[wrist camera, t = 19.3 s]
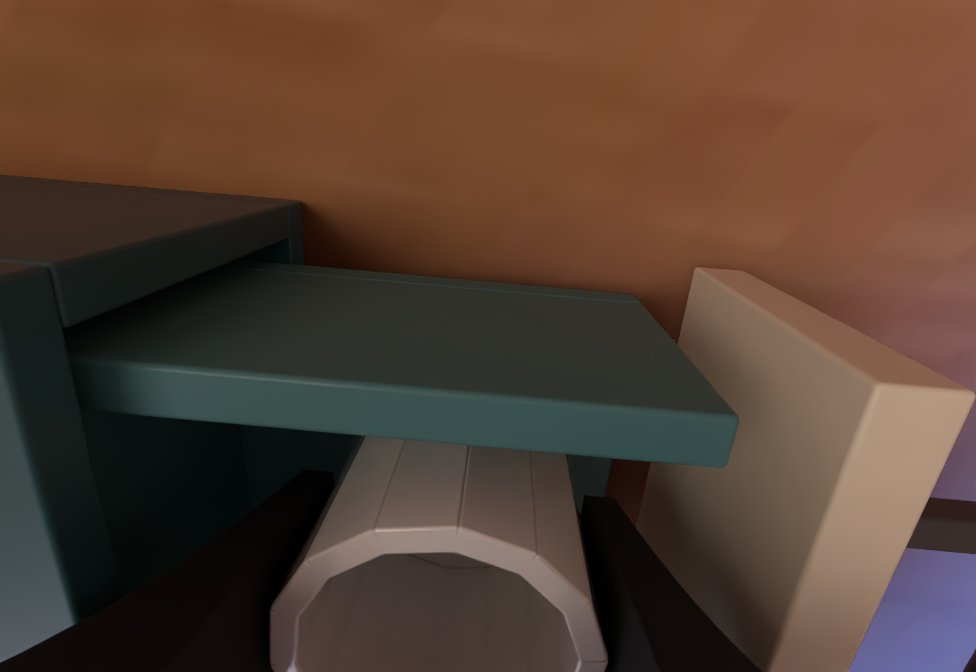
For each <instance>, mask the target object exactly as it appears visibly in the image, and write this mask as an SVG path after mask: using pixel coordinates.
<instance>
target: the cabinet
mask: <svg viewBox="0 0 976 672" xmlns="http://www.w3.org/2000/svg"><path fill="white" fill-rule="evenodd" d="M236 259H237V260H248V261H260V262H271V263H283V264H294V265H304V249H303V228H302V208H301V202H300V201H295V200H284V199H272V198H261V197H249V196H237V195H226V194H214V193H203V192H191V191H179V190H168V189H156V188H145V187H133V186H121V185H110V184H98V183H87V182H75V181H63V180H52V179H40V178H29V177H17V176H5V175H0V662H3V661H5V660H7V659H9V658H11V657H13V656H15V655H17V654H19V653H21V652H23V651H25V650H27V649H29V648H31V647H33V646H35V645H37V644H39V643H40V642H42V641H44V640H46V639H48V638H50V637H52V636H54V635H56V634H58V633H60V632H61V631H63V630H65V629H67V628H69V627H71V626H73V625H75V624H77V623H79V622H80V621H82V620H84V619H86V618H88V617H90V616H92V615H94V614H96V613H97V612H99V611H101V610H103V609H104V608H106V607H108V606H110V605H111V604H113V603H115V602H117V601H118V600H120V599H122V598H123V597H124V596H123V592H122V587H121V583H120V578H119V574H118V570H117V565H116V561H115V557H114V552H113V548H112V544H111V539H110V535H109V531H108V526H107V522H106V518H105V513H104V509H103V504H102V500H101V496H100V491H99V487H98V483H97V478H96V474H95V470H94V465H93V461H92V457H91V452H90V448H89V444H88V439H87V435H86V430H85V426H84V422H83V417H82V413H81V409H80V404H79V400H78V396H77V391H76V387H75V383H74V378H73V374H72V370H71V365H70V361H69V356H68V352H67V348H66V343H65V339H64V335H63V330H62V328H68V327H70V326H73V325H75V324H78V323H80V322H83V321H85V320H88V319H90V318H93V317H95V316H98V315H100V314H103V313H105V312H107V311H110V310H112V309H115V308H117V307H120V306H122V305H125V304H127V303H130V302H132V301H135V300H137V299H140V298H142V297H144V296H147V295H149V294H152V293H154V292H157V291H159V290H162V289H164V288H167V287H169V286H172V285H174V284H177V283H179V282H181V281H184V280H186V279H189V278H191V277H194V276H196V275H199V274H201V273H204V272H206V271H209V270H211V269H214V268H216V267H219V266H221V265H223V264H226V263H228V262H231V261H233V260H236Z"/></svg>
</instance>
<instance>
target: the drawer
mask: <svg viewBox="0 0 976 672" xmlns="http://www.w3.org/2000/svg"><path fill="white" fill-rule="evenodd" d="M62 330H63V335H64V339H65V343H66V348H67V352H68V356H69V361H70V365H71V370H72V374H73V378H74V383H75V387H76V391H77V396H78V400H79V404H80V409H81V413H82V417H83V422H84V426H85V430H86V435H87V439H88V444H89V448H90V452H91V457H92V461H93V465H94V470H95V474H96V478H97V483H98V487H99V491H100V496H101V500H102V504H103V509H104V513H105V518H106V522H107V526H108V531H109V535H110V539H111V544H112V548H113V552H114V557H115V561H116V565H117V570H118V574H119V578H120V583H121V587H122V592H123V596H124V597H125V596H127V595H128V594H130V593H132V592H133V591H135V590H137V589H138V588H140V587H142V586H144V585H145V584H147V583H148V582H150V581H152V580H153V579H155V578H156V577H158V576H160V575H161V574H163V573H164V572H166V571H167V570H169V569H170V568H172V567H173V566H175V565H176V564H178V563H179V562H181V561H182V560H184V559H185V558H186V557H188V556H189V555H191V554H192V553H194V552H195V551H197V550H198V549H199V548H201V547H202V546H204V545H205V544H207V543H208V542H210V541H211V540H212V539H214V538H215V537H217V536H218V535H220V534H221V533H222V532H224V531H225V530H226V529H228V528H229V527H230V526H232V525H233V524H234V523H236V522H237V521H238V520H240V519H241V518H242V517H244V516H245V515H246V514H248V513H249V512H250V511H252V510H253V509H254V508H255V507H257V506H258V505H259V504H261V503H262V502H263V501H264V500H266V499H267V498H268V497H270V496H271V495H272V494H273V493H275V492H276V491H277V490H279V489H280V488H281V487H282V486H284V485H285V484H286V483H288V482H289V481H290V480H291V479H293V478H294V477H295V476H297V475H298V474H299V473H301V472H302V471H303V470H314V471H325V472H333V477H334V484H335V482H336V480H337V478H338V476H339V474H340V473H341V471H342V469H343V467H344V465H345V463H346V461H347V459H348V457H349V455H350V454H351V452H352V451H353V449H354V448H355V447H356V445H357V444H358V442H359V440H360V438H361V436H373V437H384V438H395V439H406V440H417V441H428V442H439V443H450V444H461V445H472V446H483V447H494V448H505V449H516V450H527V451H538V452H549V453H560V454H567V456H568V460H569V464H570V468H571V474H572V477H573V481H574V484H575V487H576V491H577V496H578V501H579V507H580V512H581V510H582V505H583V499H584V495H587V496H598V497H605V495H606V490H607V485H608V480H609V475H610V470H611V465H612V459H613V458H616V459H627V460H638V461H649V462H651V464H650V468H649V472H648V477H647V481H646V486H645V490H644V494H643V499H642V503H641V508H640V512H639V516H638V521H637V525H636V529H637V530H638V531H639V533H640V534H641V535H642V537H643V538H644V539H645V541H646V542H647V543H648V545H649V546H650V547H651V549H652V550H653V551H654V552H655V554H656V555H657V556H658V558H659V559H660V560H661V561H662V563H663V564H664V565H665V566H666V568H667V569H668V570H669V571H670V573H671V574H672V575H673V576H674V578H675V579H676V580H677V581H678V583H679V584H680V585H681V586H682V587H683V589H684V590H685V591H686V592H687V593H688V594H689V596H690V597H691V598H692V599H693V600H694V602H695V603H696V604H697V605H698V606H699V607H700V608H701V609H702V610H703V612H704V613H705V614H706V615H707V616H708V617H709V618H710V619H711V620H712V622H713V623H714V624H715V625H716V626H717V627H718V628H719V629H720V630H721V631H722V632H723V633H724V634H725V635H726V636H727V637H728V638H729V640H730V641H731V642H732V643H733V644H734V645H735V646H736V647H738V648H739V649H740V650H741V651H742V652H743V653H744V654H745V655H746V656H747V657H748V658H749V659H750V660H751V661H752V662H753V663H754V664H755V665H756V666H757V667H758V668H759V669H760V670H761V671H762V672H848V670H849V668H850V666H851V664H852V662H853V659H854V657H855V655H856V653H857V651H858V649H859V647H860V644H861V642H862V640H863V638H864V636H865V634H866V632H867V630H868V627H869V625H870V623H871V621H872V619H873V617H874V615H875V612H876V610H877V608H878V606H879V604H880V602H881V600H882V597H883V595H884V593H885V591H886V589H887V587H888V585H889V583H890V580H891V578H892V576H893V574H894V572H895V570H896V568H897V565H898V563H899V561H900V559H901V557H902V555H903V553H904V550H905V548H915V549H926V550H937V551H947V552H958V553H969V554H976V502H974V501H963V500H952V499H941V498H930V495H931V493H932V491H933V489H934V486H935V484H936V482H937V480H938V478H939V476H940V474H941V471H942V469H943V467H944V465H945V463H946V461H947V459H948V457H949V454H950V452H951V450H952V448H953V446H954V444H955V442H956V439H957V437H958V435H959V433H960V431H961V429H962V427H963V424H964V422H965V420H966V418H967V416H968V414H969V412H970V410H971V407H972V405H973V403H974V401H975V399H976V394H975V393H974V392H973V391H972V390H970V389H968V388H966V387H964V386H962V385H960V384H958V383H956V382H955V381H953V380H951V379H949V378H947V377H945V376H943V375H941V374H939V373H937V372H935V371H934V370H932V369H930V368H928V367H926V366H924V365H922V364H920V363H918V362H916V361H914V360H912V359H911V358H909V357H907V356H905V355H903V354H901V353H899V352H897V351H895V350H893V349H891V348H890V347H888V346H886V345H884V344H882V343H880V342H878V341H876V340H874V339H872V338H870V337H869V336H867V335H865V334H863V333H861V332H859V331H857V330H855V329H853V328H851V327H849V326H848V325H846V324H844V323H842V322H840V321H838V320H836V319H834V318H832V317H830V316H828V315H827V314H825V313H823V312H821V311H819V310H817V309H815V308H813V307H811V306H809V305H807V304H806V303H804V302H802V301H800V300H798V299H796V298H794V297H792V296H790V295H788V294H786V293H785V292H783V291H781V290H779V289H777V288H775V287H773V286H771V285H769V284H767V283H765V282H764V281H762V280H760V279H758V278H756V277H754V276H752V275H750V274H748V273H746V272H744V271H739V270H727V269H716V268H704V267H697V268H695V270H694V274H693V278H692V283H691V287H690V292H689V296H688V300H687V305H686V309H685V314H684V318H683V322H682V327H681V331H680V336H679V340H678V344H676V343H675V341H674V340H673V339H672V338H671V337H670V336H669V334H668V333H667V332H666V331H665V330H664V329H663V327H662V326H661V325H660V324H659V323H658V322H657V320H656V319H655V318H654V317H653V316H652V315H651V313H650V312H649V311H648V310H647V309H646V308H645V306H644V305H642V303H641V302H640V301H639V299H638V298H637V297H636V296H635V295H633V294H625V293H614V292H603V291H591V290H580V289H568V288H557V287H545V286H534V285H523V284H511V283H500V282H488V281H477V280H466V279H454V278H443V277H431V276H420V275H408V274H397V273H386V272H374V271H363V270H351V269H340V268H328V267H317V266H306V265H294V264H283V263H271V262H260V261H248V260H237V259H236V260H233V261H231V262H228V263H226V264H223V265H221V266H219V267H216V268H214V269H211V270H209V271H206V272H204V273H201V274H199V275H196V276H194V277H191V278H189V279H186V280H184V281H181V282H179V283H177V284H174V285H172V286H169V287H167V288H164V289H162V290H159V291H157V292H154V293H152V294H149V295H147V296H144V297H142V298H140V299H137V300H135V301H132V302H130V303H127V304H125V305H122V306H120V307H117V308H115V309H112V310H110V311H107V312H105V313H103V314H100V315H98V316H95V317H93V318H90V319H88V320H85V321H83V322H80V323H78V324H75V325H73V326H70V327H68V328H62ZM963 672H976V649H975V651H974V653H973V655H972V656H971V658H970V660H969V661H968V663H967V665H966V667H965V668H964V670H963Z"/></svg>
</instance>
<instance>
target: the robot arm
mask: <svg viewBox="0 0 976 672" xmlns="http://www.w3.org/2000/svg"><path fill="white" fill-rule="evenodd" d="M333 486H334V477H333V472H325V471H314V470H303V471H302V472H301V473H299V474H298V475H297V476H295V477H294V478H293V479H291V480H290V481H289V482H288V483H286V484H285V485H284V486H282V487H281V488H280V489H279V490H277V491H276V492H275V493H273V494H272V495H271V496H270V497H268V498H267V499H266V500H264V501H263V502H262V503H261V504H259V505H258V506H257V507H255V508H254V509H253V510H252V511H250V512H249V513H248V514H246V515H245V516H244V517H242V518H241V519H240V520H238V521H237V522H236V523H234V524H233V525H232V526H230V527H229V528H228V529H226V530H225V531H224V532H222V533H221V534H220V535H218V536H217V537H215V538H214V539H212V540H211V541H210V542H208V543H207V544H205V545H204V546H202V547H201V548H199V549H198V550H197V551H195V552H194V553H192V554H191V555H189V556H188V557H186V558H185V559H184V560H182V561H181V562H179V563H178V564H176V565H175V566H173V567H172V568H170V569H169V570H167V571H166V572H164V573H163V574H161V575H160V576H158V577H156V578H155V579H153V580H152V581H150V582H148V583H147V584H145V585H144V586H142V587H140V588H138V589H137V590H135V591H133V592H132V593H130V594H128V595H127V596H125V597H123V598H122V599H120V600H118V601H117V602H115V603H113V604H111V605H110V606H108V607H106V608H104V609H103V610H101V611H99V612H97V613H96V614H94V615H92V616H90V617H88V618H86V619H84V620H82V621H80V622H79V623H77V624H75V625H73V626H71V627H69V628H67V629H65V630H63V631H61V632H60V633H58V634H56V635H54V636H52V637H50V638H48V639H46V640H44V641H42V642H40V643H39V644H37V645H35V646H33V647H31V648H29V649H27V650H25V651H23V652H21V653H19V654H17V655H15V656H13V657H11V658H9V659H7V660H5V661H3V662H0V672H274V671H273V670H272V668H271V664H270V662H269V658H270V609H271V605H272V603H273V601H274V599H275V597H276V595H277V593H278V591H279V590H280V588H281V586H282V584H283V582H284V580H285V578H286V576H287V574H288V572H289V570H290V568H291V567H292V565H293V563H294V561H295V559H296V557H297V555H298V553H299V551H300V549H301V547H302V545H303V544H304V542H305V540H306V538H307V536H308V534H309V532H310V530H311V528H312V526H313V524H314V522H315V520H316V519H317V517H318V515H319V513H320V511H321V509H322V507H323V505H324V503H325V501H326V499H327V497H328V496H329V494H330V492H331V490H332V488H333ZM581 518H582V523H583V528H584V534H585V539H586V544H587V549H588V554H589V558H590V563H591V568H592V573H593V579H594V584H595V589H596V594H597V599H598V604H599V609H600V614H601V620H602V625H603V630H604V635H605V640H606V645H607V650H608V664H607V667H606V670H605V672H762V671H761V670H760V669H759V668H758V667H757V666H756V665H755V664H754V663H753V662H752V661H751V660H750V659H749V658H748V657H747V656H746V655H745V654H744V653H743V652H742V651H741V650H740V649H739V648H738V647H736V646H735V645H734V644H733V643H732V642H731V641H730V640H729V638H728V637H727V636H726V635H725V634H724V633H723V632H722V631H721V630H720V629H719V628H718V627H717V626H716V625H715V624H714V623H713V622H712V620H711V619H710V618H709V617H708V616H707V615H706V614H705V613H704V612H703V610H702V609H701V608H700V607H699V606H698V605H697V604H696V603H695V602H694V600H693V599H692V598H691V597H690V596H689V594H688V593H687V592H686V591H685V590H684V589H683V587H682V586H681V585H680V584H679V583H678V581H677V580H676V579H675V578H674V576H673V575H672V574H671V573H670V571H669V570H668V569H667V568H666V566H665V565H664V564H663V563H662V561H661V560H660V559H659V558H658V556H657V555H656V554H655V552H654V551H653V550H652V549H651V547H650V546H649V545H648V543H647V542H646V541H645V539H644V538H643V537H642V535H641V534H640V533H639V531H638V530H637V529H636V527H635V526H634V524H633V523H632V522H631V520H630V519H629V518H628V516H627V515H626V514H625V512H624V511H623V509H622V508H621V507H620V505H619V504H618V503H617V501H616V500H615V499H614V498H609V497H598V496H587V495H584V499H583V505H582V510H581Z"/></svg>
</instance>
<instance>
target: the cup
mask: <svg viewBox="0 0 976 672" xmlns="http://www.w3.org/2000/svg"><path fill="white" fill-rule="evenodd" d="M269 662H270V664H271V668H272V670H273V671H274V672H605V670H606V667H607V664H608V650H607V645H606V640H605V635H604V630H603V625H602V620H601V614H600V609H599V604H598V599H597V594H596V589H595V584H594V579H593V573H592V568H591V563H590V558H589V554H588V549H587V544H586V539H585V534H584V528H583V523H582V518H581V512H580V507H579V501H578V496H577V491H576V487H575V484H574V481H573V477H572V474H571V468H570V464H569V460H568V456H567V454H560V453H549V452H538V451H527V450H516V449H505V448H494V447H483V446H472V445H461V444H450V443H439V442H428V441H417V440H406V439H395V438H384V437H373V436H361V438H360V440H359V442H358V444H357V445H356V447H355V448H354V449H353V451H352V452H351V454H350V455H349V457H348V459H347V461H346V463H345V465H344V467H343V469H342V471H341V473H340V474H339V476H338V478H337V480H336V482H335V484H334V486H333V488H332V490H331V492H330V494H329V496H328V497H327V499H326V501H325V503H324V505H323V507H322V509H321V511H320V513H319V515H318V517H317V519H316V520H315V522H314V524H313V526H312V528H311V530H310V532H309V534H308V536H307V538H306V540H305V542H304V544H303V545H302V547H301V549H300V551H299V553H298V555H297V557H296V559H295V561H294V563H293V565H292V567H291V568H290V570H289V572H288V574H287V576H286V578H285V580H284V582H283V584H282V586H281V588H280V590H279V591H278V593H277V595H276V597H275V599H274V601H273V603H272V605H271V609H270V658H269Z"/></svg>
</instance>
